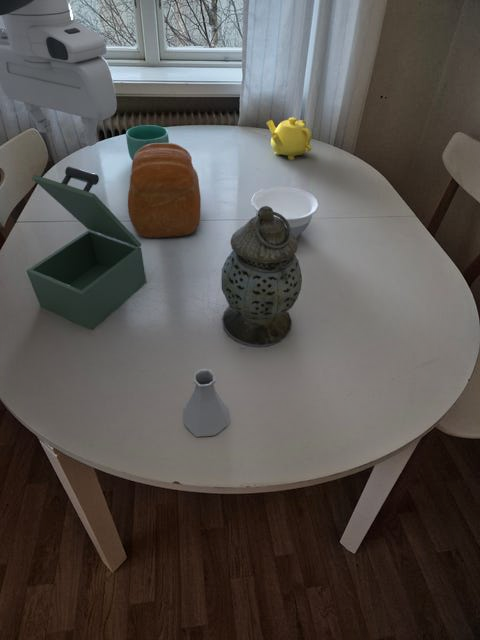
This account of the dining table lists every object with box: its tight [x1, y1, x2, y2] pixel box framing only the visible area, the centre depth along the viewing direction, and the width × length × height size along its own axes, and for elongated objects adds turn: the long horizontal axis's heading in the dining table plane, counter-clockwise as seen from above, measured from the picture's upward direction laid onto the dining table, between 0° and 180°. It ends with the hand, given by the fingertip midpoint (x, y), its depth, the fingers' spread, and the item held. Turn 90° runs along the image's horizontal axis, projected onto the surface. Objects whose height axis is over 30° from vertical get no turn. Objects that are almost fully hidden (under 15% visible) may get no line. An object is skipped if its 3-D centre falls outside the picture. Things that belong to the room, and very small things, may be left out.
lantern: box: [220, 206, 303, 348], centre depth 75 cm, size 14×14×25 cm
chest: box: [25, 229, 148, 331], centre depth 85 cm, size 17×14×9 cm
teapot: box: [266, 117, 313, 160], centre depth 140 cm, size 14×14×11 cm
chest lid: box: [31, 165, 143, 248], centre depth 80 cm, size 17×14×5 cm
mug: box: [125, 124, 170, 161], centre depth 131 cm, size 17×13×10 cm
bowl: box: [250, 185, 319, 240], centre depth 104 cm, size 16×16×8 cm
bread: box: [127, 142, 202, 238], centre depth 106 cm, size 18×21×17 cm
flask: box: [183, 368, 230, 438], centre depth 64 cm, size 7×7×10 cm
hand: (67, 138), depth 69 cm, fingers open, 8 cm apart
